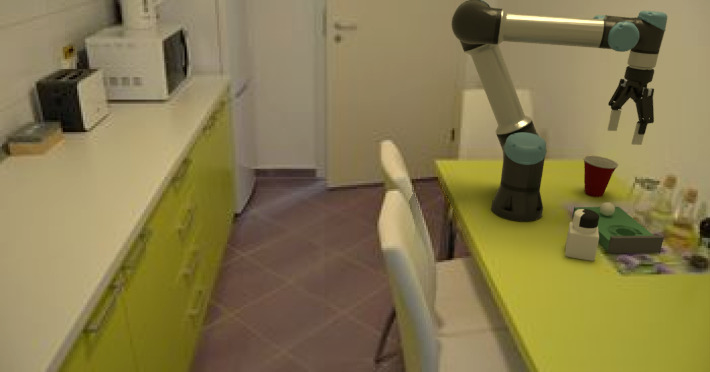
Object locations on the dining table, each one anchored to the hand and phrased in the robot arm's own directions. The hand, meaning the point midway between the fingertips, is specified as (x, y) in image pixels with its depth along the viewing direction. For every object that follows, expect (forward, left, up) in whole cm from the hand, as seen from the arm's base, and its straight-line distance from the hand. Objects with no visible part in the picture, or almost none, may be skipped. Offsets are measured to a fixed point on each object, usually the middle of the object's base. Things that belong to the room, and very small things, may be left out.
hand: (623, 137), depth 174 cm
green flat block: (-9, -19, -22) cm, 31 cm away
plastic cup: (-1, +9, -23) cm, 24 cm away
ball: (-9, -14, -17) cm, 24 cm away
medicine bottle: (-24, -31, -23) cm, 45 cm away
